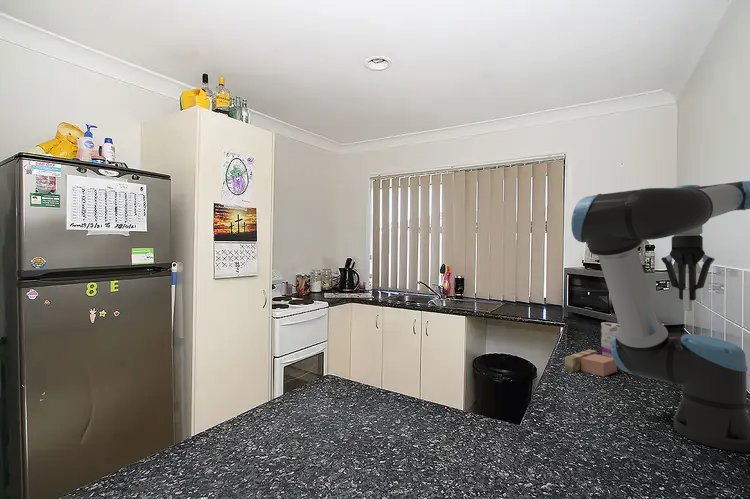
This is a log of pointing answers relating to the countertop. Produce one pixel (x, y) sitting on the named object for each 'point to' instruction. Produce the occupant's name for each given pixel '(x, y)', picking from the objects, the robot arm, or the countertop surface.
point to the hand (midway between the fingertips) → (687, 310)
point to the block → (598, 365)
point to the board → (576, 360)
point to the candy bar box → (607, 337)
